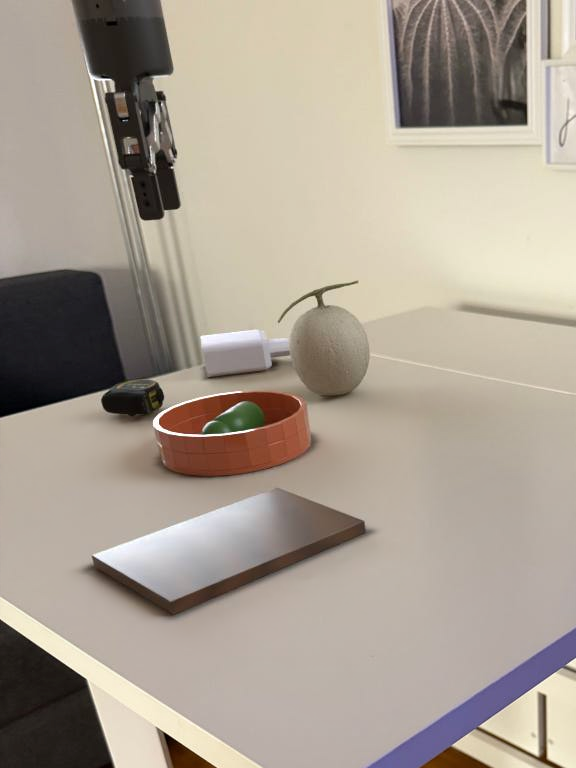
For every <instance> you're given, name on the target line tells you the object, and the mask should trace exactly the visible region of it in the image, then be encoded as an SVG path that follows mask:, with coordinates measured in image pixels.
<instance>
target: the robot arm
mask: <svg viewBox="0 0 576 768" xmlns="http://www.w3.org/2000/svg"><path fill="white" fill-rule="evenodd" d="M71 4H72V5H71V6H72V9H73V13H74V17H75V22H76V26H77V30H78V34H79V38H80V43H81V48H82V51H83V56H84V61H85V65H86V68H87V73H88V75H89V78H90V79H92V80H95V81H112V82H113V84H114V85H113V87H114V91H112V92H105V94H104V101H105V104H106V108H107V113H108V117H109V122H110V126H111V132H112V135H113V140H114V146H115V149H116V154H117V163H118V165H119V166H120V169H121V170H122V171H123V170H124V171H125V172H126V174H127V176H129V177H130V180H131V185H132V189H133V194H134V199H135V202H136V203H135V204H136V207H137V212H138V216H139V218H140V220H142V221H147V222H148V221H159V220H162V219H164V218H165V213H166V212H165V211H175V210H179V209H180V208H181V207H182V202H181V197H180V193H179V188H178V183H177V177H176V173H175V167H176V160H177V159H178V150H177V148H176V144H175V139H174V134H173V129H172V124H171V120H170V115H169V111H168V105H167V97H166V94H165V93H164V91H163V90H156V89H155V88H156V87H155V85H154V83H153V81H154V79H156V78H164V77H170V76H171V75H172V74H174V69H175V68H174V62H173V58H172V53H171V49H170V48H171V47H170V42H169V37H168V32H167V27H166V21H165V17H164V11H163V6H162V1H161V0H71Z"/></svg>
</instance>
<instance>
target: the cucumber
mask: <svg viewBox="0 0 576 768" xmlns="http://www.w3.org/2000/svg"><path fill="white" fill-rule="evenodd" d="M263 425H264V414H263V411H262V410H261V408H260V407H259V406H258V405H256V404H254V403H252V402H248V401H245V402H241V403H238V404H236V405H235V406H233V407H232V408H230V409H229V410H227V411H226V412H224V413H222V414H221V415H219V416H218V417H216V418H215V419H213V420H212V421H210V422H208V423H207V424H206V425H205V426H204V427H203V429H202V432H201V435H213V434H226V433H233V432H240V431H246V430H251V429H255V428H260V427H263Z"/></svg>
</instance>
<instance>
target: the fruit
mask: <svg viewBox="0 0 576 768" xmlns="http://www.w3.org/2000/svg"><path fill="white" fill-rule="evenodd" d="M356 284H359V280H358V279H357V280H353V281H351V282H344V283H337V284H331V285H326V286H323V287H321V288H316V289H314V290H312V291H310V292H308V293H306V294H304V295H302V296H301V297H300V298H298V299H296V300H295V301H293V302H292V303H291V304H290V305H289V306H288V307H287V308H285V309H284V311H283V312H282V313H281V315H280V316H279V318H278V320H277V323H278V324H280V323H281V321H282V320H283V318H284V317H285V316H286V314H287V313H288V312H289V311H290V310H292V309H293V307H295V306H296V305H298V304H299V303H301V302H303V301H304V300H306V299H308V298H310V297H315V299H316V303H317V306H315V307H312V308H311V309H309V310H307V311H305V312H303V313H302V314H301V315H300V316H299V317H298V318H297V319H296V321H295V322H294V323H293V326H292V328H291V330H290V334H289V349H290V356H289V357H290V360H291V364H292V367H293V369H294V372H295V373H296V375H297V376H298V378H299V380H300V382H301V383H302V384H303V385H304V386H305V387H306V388H307V389H308V390H310V391H311V392H313V393H314V394H317V395H320V396H327V397H328V396H329V397H330V396H341V395H342V396H343V395H345V394H346V395H347V394H349V393H350V392H352V391H354V390H355V389H356V388H358V387H359V386H360V384H361V383H362V382H363V381H364V378H365V376H366V375H367V371H368V368H369V364H370V356H371V354H370V353H371V351H370V343H369V339H368V335H367V332H366V330H365V328H364V326H363V325H362V323H361V322H360V320H359V319H358V318H357V317H356V316H355V315H354V314H353V313H352V312H350V311H349V310H348V309H346V308H344V307H341V306H338V305H331V304H325V303H324V299H323V294H325V293H327V292H328V291H333V290H336V289H341V288H343V287H348V286H352V285H356Z"/></svg>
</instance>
